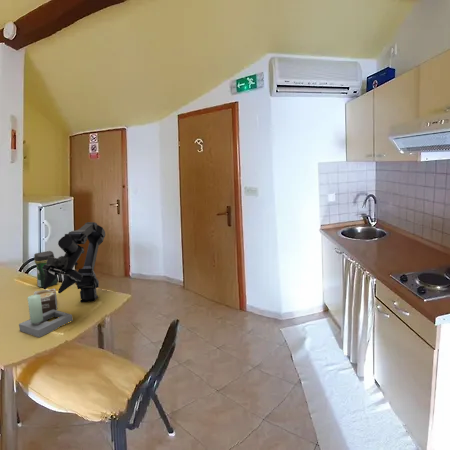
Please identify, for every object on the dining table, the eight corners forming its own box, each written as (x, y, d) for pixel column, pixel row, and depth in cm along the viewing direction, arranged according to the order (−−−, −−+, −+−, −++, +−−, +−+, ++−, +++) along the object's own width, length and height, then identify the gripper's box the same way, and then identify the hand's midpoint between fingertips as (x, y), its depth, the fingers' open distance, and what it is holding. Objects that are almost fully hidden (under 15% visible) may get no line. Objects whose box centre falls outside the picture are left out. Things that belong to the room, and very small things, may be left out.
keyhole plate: (53, 315, 148) (53, 309, 147) (72, 321, 142) (72, 314, 142) (19, 330, 135) (18, 323, 134) (39, 337, 129) (38, 330, 129)
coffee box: (55, 287, 163) (56, 299, 149) (57, 300, 164) (57, 313, 150) (33, 291, 159) (32, 303, 145) (35, 304, 160) (34, 317, 146)
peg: (47, 326, 138) (43, 294, 135) (41, 332, 133) (37, 299, 130) (35, 327, 137) (30, 294, 135) (28, 333, 133) (24, 299, 130)
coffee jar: (54, 281, 191) (50, 249, 188) (59, 284, 186) (55, 251, 182) (35, 285, 184) (31, 252, 181) (40, 289, 179) (36, 255, 175)
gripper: (43, 245, 144) (21, 279, 137) (73, 251, 136) (52, 287, 129) (61, 258, 153) (42, 290, 146) (90, 264, 145) (71, 298, 138)
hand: (51, 291), depth 139 cm, fingers open, 9 cm apart
